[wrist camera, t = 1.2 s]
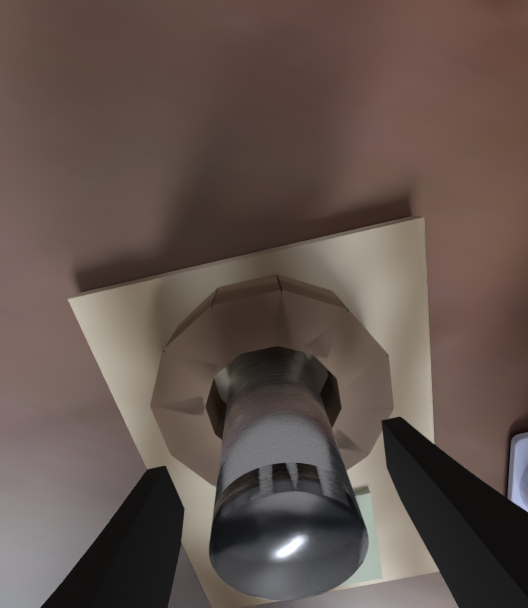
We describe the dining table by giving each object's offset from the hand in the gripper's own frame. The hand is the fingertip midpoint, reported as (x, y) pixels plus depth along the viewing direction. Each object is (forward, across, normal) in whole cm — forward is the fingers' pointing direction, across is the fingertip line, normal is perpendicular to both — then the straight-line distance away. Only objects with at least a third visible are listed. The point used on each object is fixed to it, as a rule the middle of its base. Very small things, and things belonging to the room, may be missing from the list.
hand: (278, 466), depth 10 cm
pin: (+6, 0, 0) cm, 6 cm away
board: (+6, 0, +6) cm, 9 cm away
